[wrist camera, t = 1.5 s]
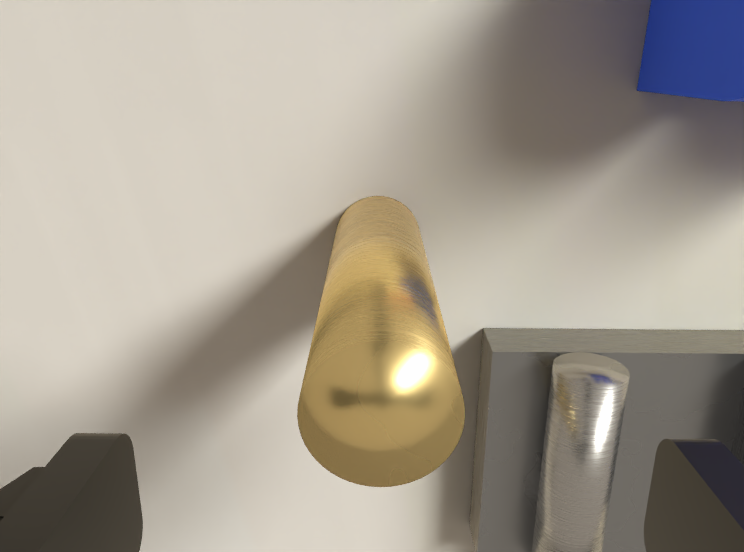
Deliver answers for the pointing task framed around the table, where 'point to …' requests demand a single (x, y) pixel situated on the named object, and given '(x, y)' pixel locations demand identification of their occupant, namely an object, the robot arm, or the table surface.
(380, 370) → the pin
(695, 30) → the bracket
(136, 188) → the table surface
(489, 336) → the grey plate with pins
